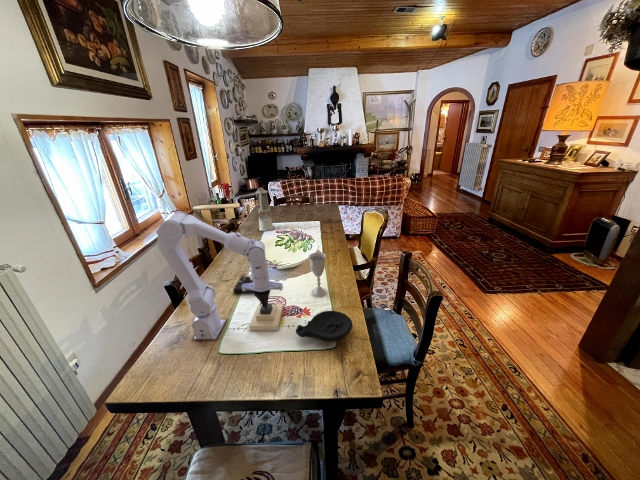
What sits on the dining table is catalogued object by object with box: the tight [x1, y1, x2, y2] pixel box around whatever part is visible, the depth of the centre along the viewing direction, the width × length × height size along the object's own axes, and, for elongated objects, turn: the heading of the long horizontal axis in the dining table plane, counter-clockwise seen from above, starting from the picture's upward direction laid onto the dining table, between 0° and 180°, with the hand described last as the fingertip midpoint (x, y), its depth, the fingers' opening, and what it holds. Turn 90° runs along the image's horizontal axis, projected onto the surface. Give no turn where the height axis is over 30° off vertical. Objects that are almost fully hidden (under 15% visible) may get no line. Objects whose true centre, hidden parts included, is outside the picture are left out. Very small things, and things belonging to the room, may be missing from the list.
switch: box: [260, 303, 272, 314], centre depth 95 cm, size 4×4×2 cm
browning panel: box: [233, 274, 255, 295], centre depth 117 cm, size 12×10×3 cm
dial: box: [242, 272, 253, 283], centre depth 116 cm, size 5×1×4 cm, turn 57°
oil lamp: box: [295, 310, 353, 343], centre depth 87 cm, size 15×20×5 cm
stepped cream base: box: [249, 303, 284, 331], centre depth 96 cm, size 12×10×4 cm
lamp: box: [255, 187, 274, 232], centre depth 178 cm, size 10×13×30 cm
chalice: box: [308, 251, 327, 297], centre depth 106 cm, size 7×7×18 cm
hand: (265, 305), depth 94 cm, fingers closed
